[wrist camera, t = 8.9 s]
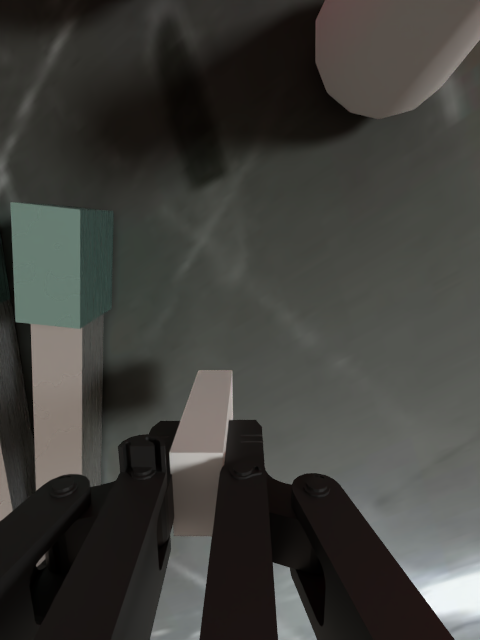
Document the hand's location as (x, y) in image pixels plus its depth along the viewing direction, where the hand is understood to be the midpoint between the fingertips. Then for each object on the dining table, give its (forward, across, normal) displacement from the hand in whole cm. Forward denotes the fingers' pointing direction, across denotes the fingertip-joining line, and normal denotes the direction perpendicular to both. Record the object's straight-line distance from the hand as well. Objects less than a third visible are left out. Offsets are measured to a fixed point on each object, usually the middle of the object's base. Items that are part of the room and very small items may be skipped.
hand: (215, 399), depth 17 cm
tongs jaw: (+4, +8, +3) cm, 10 cm away
